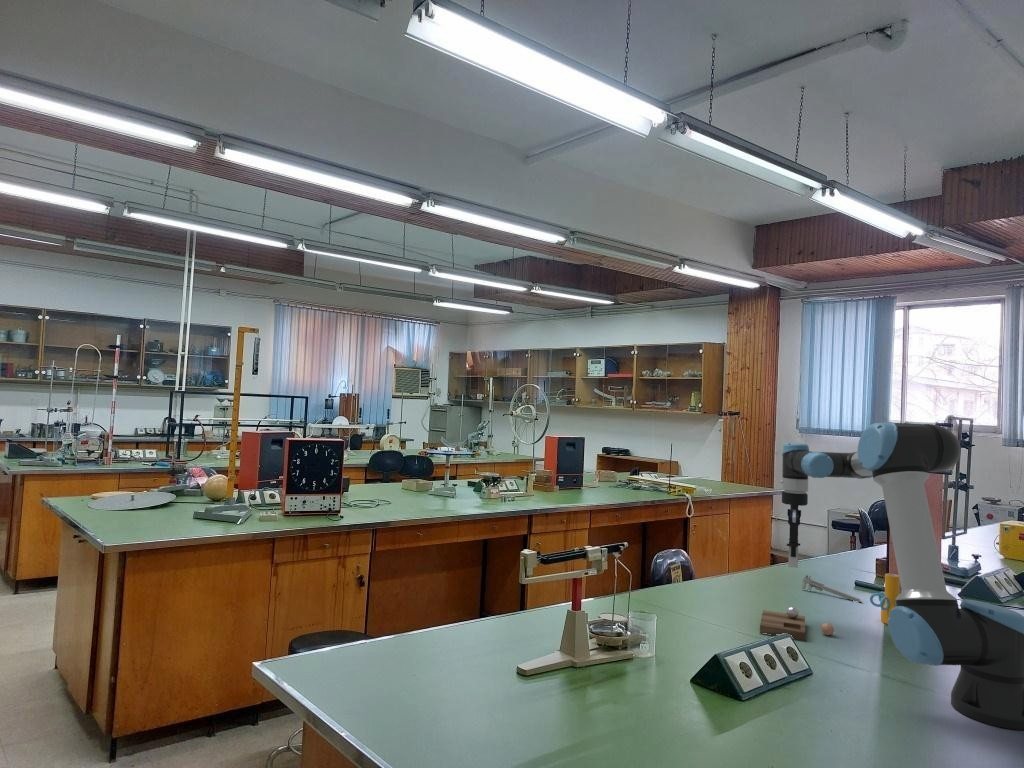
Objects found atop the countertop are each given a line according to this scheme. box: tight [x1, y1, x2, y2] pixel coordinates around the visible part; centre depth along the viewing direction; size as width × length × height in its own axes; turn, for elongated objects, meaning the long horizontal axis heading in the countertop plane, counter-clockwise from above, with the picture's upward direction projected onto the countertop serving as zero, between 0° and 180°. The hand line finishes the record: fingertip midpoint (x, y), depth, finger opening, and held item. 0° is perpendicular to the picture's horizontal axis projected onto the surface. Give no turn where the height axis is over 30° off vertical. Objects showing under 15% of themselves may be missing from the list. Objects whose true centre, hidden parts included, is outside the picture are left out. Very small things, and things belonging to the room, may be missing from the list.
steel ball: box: [785, 605, 800, 618], centre depth 192 cm, size 4×4×4 cm
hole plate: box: [759, 609, 806, 642], centre depth 189 cm, size 16×12×2 cm
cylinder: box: [869, 572, 901, 625], centre depth 200 cm, size 12×10×15 cm
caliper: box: [801, 574, 864, 603], centre depth 228 cm, size 20×1×6 cm, turn 46°
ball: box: [820, 622, 835, 637], centre depth 185 cm, size 4×4×4 cm
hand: (793, 566), depth 200 cm, fingers closed
